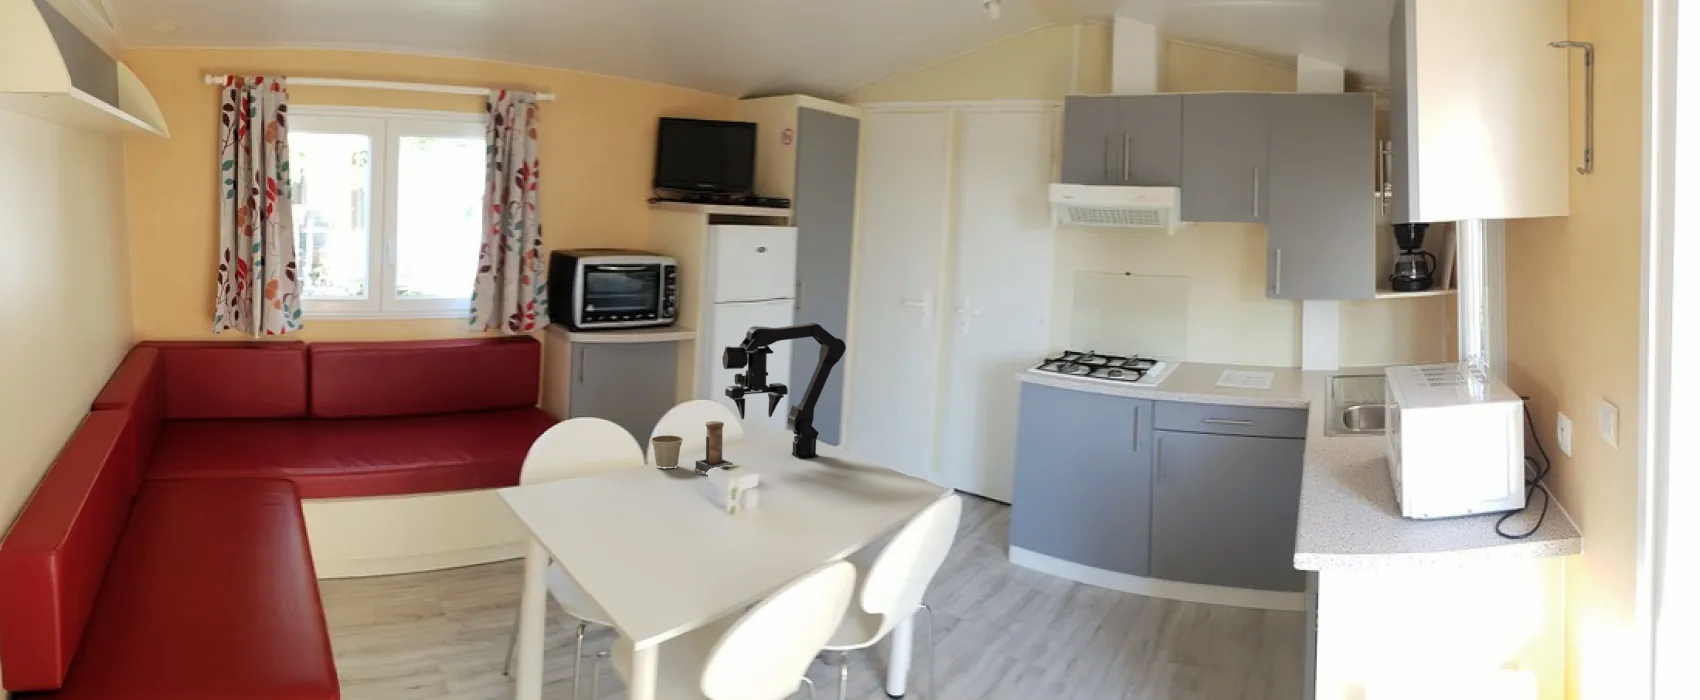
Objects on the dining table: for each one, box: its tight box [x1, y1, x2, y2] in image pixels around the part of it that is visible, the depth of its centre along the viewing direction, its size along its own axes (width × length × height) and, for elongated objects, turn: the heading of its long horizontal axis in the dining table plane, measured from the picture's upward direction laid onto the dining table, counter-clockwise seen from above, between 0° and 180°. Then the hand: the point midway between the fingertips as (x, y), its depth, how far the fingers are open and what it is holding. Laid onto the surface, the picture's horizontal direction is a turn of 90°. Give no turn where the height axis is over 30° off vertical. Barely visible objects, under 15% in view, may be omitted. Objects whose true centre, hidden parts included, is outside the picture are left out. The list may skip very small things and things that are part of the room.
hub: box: [693, 458, 734, 476], centre depth 302 cm, size 12×12×3 cm
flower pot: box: [650, 434, 684, 467], centre depth 304 cm, size 9×9×9 cm
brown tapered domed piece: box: [705, 420, 725, 465], centre depth 301 cm, size 5×5×14 cm
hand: (756, 418), depth 315 cm, fingers open, 9 cm apart
